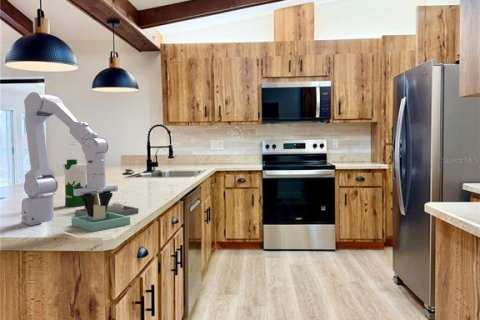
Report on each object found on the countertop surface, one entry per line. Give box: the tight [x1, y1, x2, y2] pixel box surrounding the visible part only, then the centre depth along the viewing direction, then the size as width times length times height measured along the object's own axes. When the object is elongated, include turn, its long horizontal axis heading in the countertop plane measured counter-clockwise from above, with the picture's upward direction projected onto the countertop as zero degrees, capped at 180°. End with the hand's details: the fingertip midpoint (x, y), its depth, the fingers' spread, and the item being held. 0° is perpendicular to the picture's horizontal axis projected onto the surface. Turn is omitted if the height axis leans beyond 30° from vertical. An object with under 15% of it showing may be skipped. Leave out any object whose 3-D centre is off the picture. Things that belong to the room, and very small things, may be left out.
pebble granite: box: [111, 201, 124, 212], centre depth 146 cm, size 4×4×4 cm
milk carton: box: [62, 159, 87, 208], centre depth 166 cm, size 9×9×20 cm
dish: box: [70, 212, 131, 233], centre depth 125 cm, size 13×13×3 cm
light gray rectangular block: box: [106, 204, 115, 212], centre depth 138 cm, size 4×4×4 cm
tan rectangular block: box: [88, 204, 106, 220], centre depth 126 cm, size 4×4×4 cm
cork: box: [83, 185, 100, 209], centre depth 152 cm, size 6×6×11 cm
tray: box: [74, 204, 139, 217], centre depth 143 cm, size 17×15×2 cm
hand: (96, 215), depth 126 cm, fingers closed on tan rectangular block, 4 cm apart
